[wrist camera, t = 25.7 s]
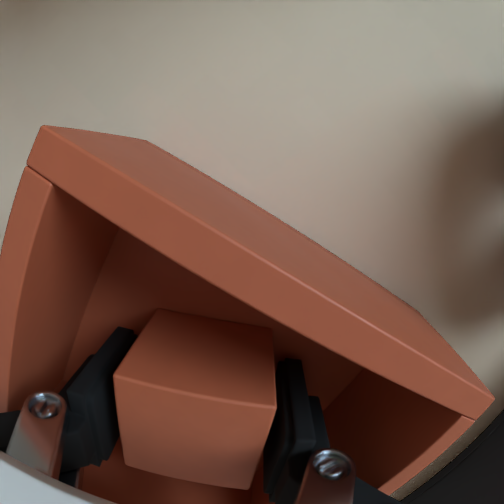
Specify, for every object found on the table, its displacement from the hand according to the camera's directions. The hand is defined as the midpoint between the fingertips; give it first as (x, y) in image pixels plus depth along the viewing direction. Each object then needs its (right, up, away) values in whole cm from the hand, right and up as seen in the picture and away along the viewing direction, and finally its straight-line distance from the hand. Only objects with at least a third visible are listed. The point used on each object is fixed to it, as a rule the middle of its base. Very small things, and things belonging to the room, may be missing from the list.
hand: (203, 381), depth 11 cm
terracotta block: (0, 0, +1) cm, 1 cm away
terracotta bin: (0, 0, +1) cm, 1 cm away
